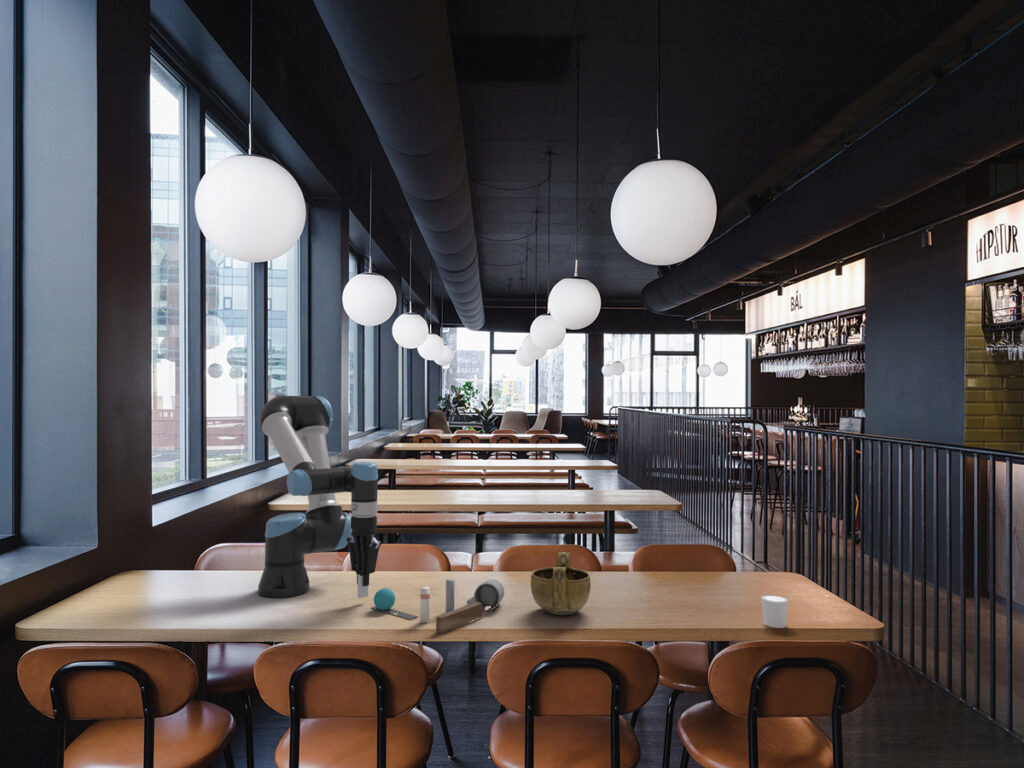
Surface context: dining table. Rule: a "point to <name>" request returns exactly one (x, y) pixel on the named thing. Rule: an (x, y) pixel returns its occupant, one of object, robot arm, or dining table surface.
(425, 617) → the white pin
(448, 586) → the grey pin
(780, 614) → the white cup
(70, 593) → the dining table surface
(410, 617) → the grey flat bar
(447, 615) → the backstop
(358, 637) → the dining table surface
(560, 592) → the ceramic bowl
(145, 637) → the dining table surface
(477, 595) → the ceramic mug
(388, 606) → the ball
